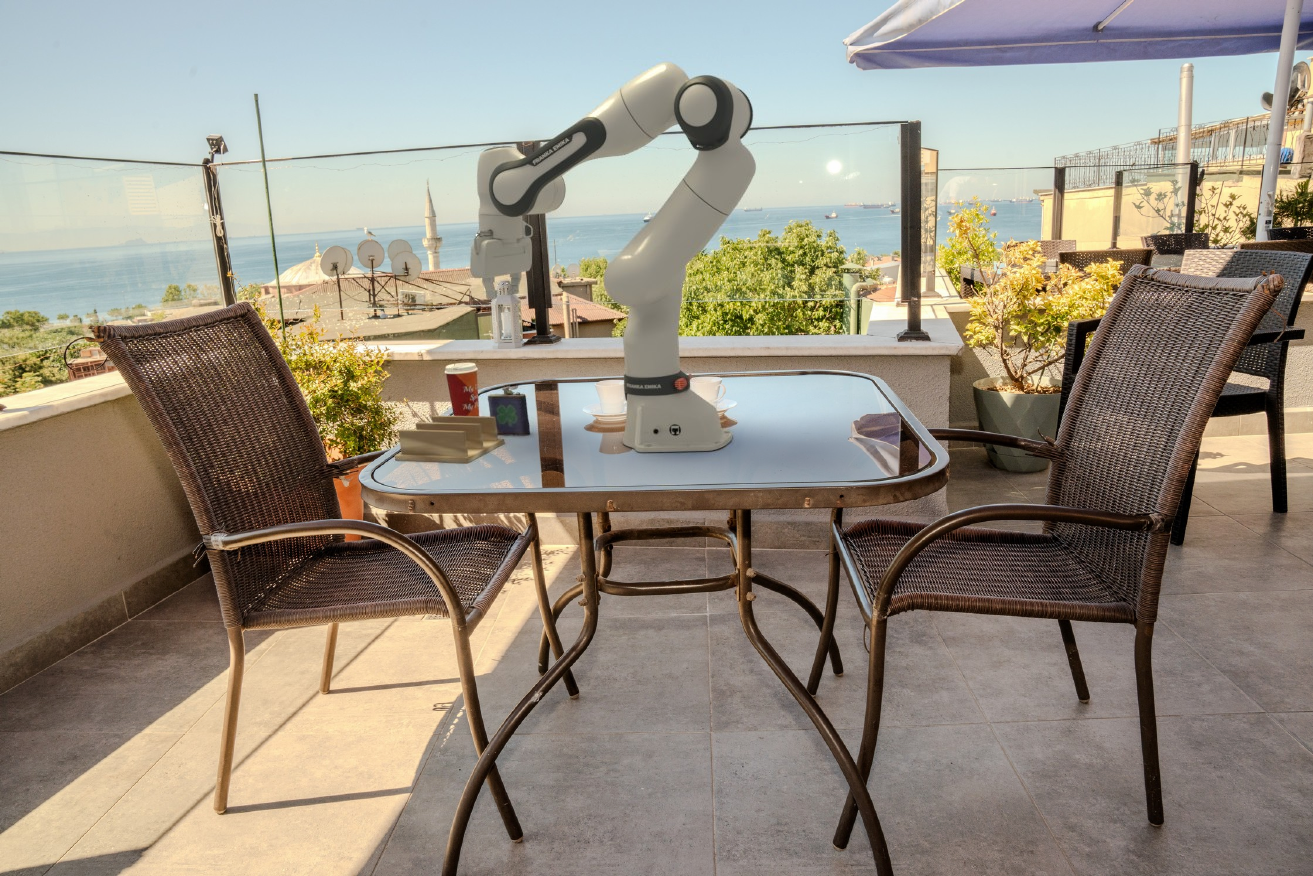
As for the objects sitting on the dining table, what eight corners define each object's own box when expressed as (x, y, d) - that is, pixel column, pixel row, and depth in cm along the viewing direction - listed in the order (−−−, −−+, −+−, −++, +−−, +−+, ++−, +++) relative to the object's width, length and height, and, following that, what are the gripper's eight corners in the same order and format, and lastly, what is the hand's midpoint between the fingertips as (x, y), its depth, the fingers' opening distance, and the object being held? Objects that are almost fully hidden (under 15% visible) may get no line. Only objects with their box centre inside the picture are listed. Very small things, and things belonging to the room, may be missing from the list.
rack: (436, 440, 190) (432, 414, 188) (504, 443, 184) (501, 415, 183) (395, 460, 176) (391, 431, 175) (467, 463, 171) (464, 433, 169)
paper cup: (476, 427, 200) (469, 367, 196) (445, 427, 202) (438, 368, 198) (489, 419, 207) (482, 361, 204) (459, 419, 209) (452, 362, 205)
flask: (489, 435, 192) (484, 387, 189) (496, 431, 195) (491, 385, 192) (527, 436, 189) (522, 388, 186) (533, 432, 192) (528, 385, 189)
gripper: (488, 231, 169) (491, 303, 172) (536, 227, 187) (538, 292, 191) (460, 230, 171) (463, 301, 174) (510, 226, 189) (512, 290, 193)
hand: (503, 296), depth 183 cm, fingers open, 8 cm apart
